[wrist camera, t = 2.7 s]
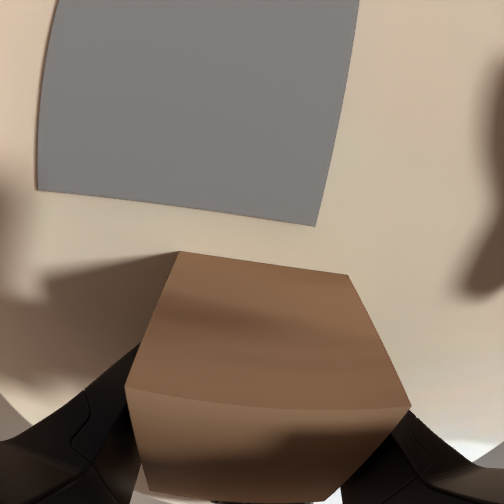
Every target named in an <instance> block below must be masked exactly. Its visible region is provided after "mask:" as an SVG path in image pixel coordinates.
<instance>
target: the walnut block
mask: <svg viewBox="0 0 504 504" xmlns="http://www.w3.org/2000/svg"><path fill="white" fill-rule="evenodd" d="M124 387H125V392H126V398H127V403H128V408H129V413H130V417H131V422H132V426H133V431H134V435H135V439H136V443H137V447H138V451H139V455H140V458H141V462H142V466H143V469H144V473H145V476H146V479H147V483H148V486H149V489H150V491H155V492H160V493H166V494H171V495H177V496H184V497H190V498H198V499H206V500H216V501H227V502H242V503H306V502H321V501H325V500H326V499H327V498H328V497H330V496H331V495H332V494H333V493H334V492H335V491H336V490H337V489H338V488H339V487H340V486H341V485H342V484H343V483H344V482H345V481H346V480H348V479H349V478H350V477H351V476H352V475H353V474H354V473H355V471H356V470H357V469H358V468H359V467H360V466H361V465H362V464H363V463H364V462H365V461H366V460H367V459H368V458H369V457H370V456H371V455H372V453H373V452H374V451H375V450H376V449H377V448H378V447H379V446H380V444H381V443H382V442H383V441H384V440H385V439H386V438H387V436H388V435H389V434H390V433H391V432H392V430H393V429H394V428H395V427H396V425H397V424H398V423H399V422H400V420H401V419H402V418H403V417H404V415H405V414H406V413H407V411H408V410H409V409H410V408H411V404H410V401H409V399H408V397H407V394H406V392H405V390H404V388H403V386H402V383H401V381H400V379H399V377H398V375H397V372H396V370H395V368H394V366H393V364H392V362H391V359H390V357H389V355H388V353H387V351H386V349H385V347H384V345H383V343H382V341H381V339H380V337H379V335H378V333H377V331H376V329H375V327H374V325H373V323H372V321H371V319H370V317H369V315H368V313H367V311H366V309H365V307H364V305H363V303H362V301H361V299H360V297H359V295H358V293H357V292H356V290H355V288H354V286H353V284H352V282H351V280H350V278H349V277H348V275H343V274H335V273H328V272H321V271H314V270H306V269H299V268H292V267H285V266H278V265H271V264H264V263H257V262H250V261H243V260H236V259H229V258H222V257H215V256H208V255H202V254H195V253H188V252H181V251H180V252H179V254H178V256H177V259H176V261H175V263H174V265H173V268H172V270H171V272H170V274H169V277H168V279H167V281H166V284H165V286H164V288H163V291H162V293H161V295H160V298H159V300H158V302H157V305H156V307H155V309H154V312H153V314H152V317H151V319H150V322H149V324H148V327H147V329H146V332H145V334H144V337H143V339H142V342H141V344H140V347H139V349H138V352H137V354H136V357H135V360H134V362H133V365H132V367H131V370H130V373H129V375H128V378H127V381H126V384H125V386H124Z"/></svg>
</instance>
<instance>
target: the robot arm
mask: <svg viewBox="0 0 504 504" xmlns="http://www.w3.org/2000/svg"><path fill="white" fill-rule="evenodd" d="M141 342H142V341H141ZM141 342H140V343H139V344H138V345H137V346H135V347H134V348H133V349H132V350H131V351H129V352H128V353H127V354H126V355H125V356H123V357H122V358H121V359H120V360H119V361H117V362H116V363H115V364H114V365H113V366H111V367H110V368H109V369H108V370H107V371H105V372H104V373H103V374H102V375H101V376H99V377H98V378H97V379H96V380H95V381H93V382H92V383H91V384H90V385H89V386H87V387H86V388H85V391H84V390H82V391H81V392H80V393H79V394H78V395H77V396H75V397H74V398H73V399H71V400H70V401H69V402H68V403H66V404H65V405H64V406H63V407H61V408H60V409H58V410H57V411H55V412H54V413H52V414H51V415H49V416H48V417H46V418H45V419H43V420H41V421H40V422H38V423H37V424H35V425H34V426H32V427H30V428H29V429H27V430H26V431H24V432H22V433H21V434H19V435H17V436H15V437H13V438H11V439H8V440H5V441H0V504H129V503H130V500H131V497H132V493H133V490H134V486H135V483H136V479H137V476H138V473H139V469H140V466H141V463H142V462H141V458H140V455H139V451H138V447H137V443H136V439H135V435H134V431H133V426H132V422H131V417H130V413H129V408H128V403H127V398H126V392H125V387H124V386H125V384H126V381H127V378H128V375H129V373H130V370H131V367H132V365H133V362H134V360H135V357H136V354H137V352H138V349H139V347H140V344H141ZM340 489H341V495H342V502H343V504H504V469H497V468H485V467H481V466H478V465H476V464H474V463H472V462H471V461H469V460H468V459H466V458H465V457H464V456H463V455H461V454H460V453H459V452H457V451H456V450H455V449H453V448H452V447H451V446H450V445H448V444H447V443H446V442H444V441H443V440H442V439H441V438H440V437H438V436H437V435H436V434H435V433H434V432H433V431H431V430H430V429H429V428H428V427H427V426H426V425H425V424H424V423H423V422H422V421H421V420H420V419H419V418H416V416H415V415H414V414H413V413H412V412H411V411H410V410H408V411H407V413H406V414H405V415H404V417H403V418H402V419H401V420H400V422H399V423H398V424H397V425H396V427H395V428H394V429H393V430H392V432H391V433H390V434H389V435H388V436H387V438H386V439H385V440H384V441H383V442H382V443H381V444H380V446H379V447H378V448H377V449H376V450H375V451H374V452H373V453H372V455H371V456H370V457H369V458H368V459H367V460H366V461H365V462H364V463H363V464H362V465H361V466H360V467H359V468H358V469H357V470H356V471H355V473H354V474H353V475H352V476H351V477H350V478H349V479H348V480H346V481H345V482H344V483H343V484H342V485H341V486H340ZM210 502H212V503H215V504H313V502H306V503H242V502H227V501H216V500H210Z"/></svg>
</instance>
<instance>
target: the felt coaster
mask: <svg viewBox="0 0 504 504" xmlns="http://www.w3.org/2000/svg"><path fill="white" fill-rule="evenodd" d="M358 7H359V0H59V3H58V6H57V10H56V14H55V18H54V22H53V26H52V31H51V35H50V40H49V45H48V51H47V56H46V62H45V69H44V75H43V83H42V91H41V101H40V112H39V127H38V190H42V191H52V192H62V193H72V194H82V195H91V196H101V197H109V198H118V199H127V200H135V201H143V202H151V203H159V204H167V205H174V206H182V207H189V208H196V209H204V210H211V211H218V212H225V213H231V214H238V215H245V216H251V217H258V218H264V219H271V220H277V221H283V222H289V223H295V224H301V225H307V226H313V227H315V225H316V221H317V217H318V213H319V209H320V205H321V201H322V197H323V192H324V188H325V184H326V179H327V175H328V171H329V166H330V162H331V157H332V152H333V148H334V143H335V138H336V133H337V129H338V124H339V119H340V114H341V109H342V103H343V98H344V93H345V88H346V82H347V77H348V71H349V65H350V59H351V53H352V47H353V41H354V35H355V28H356V21H357V14H358Z"/></svg>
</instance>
